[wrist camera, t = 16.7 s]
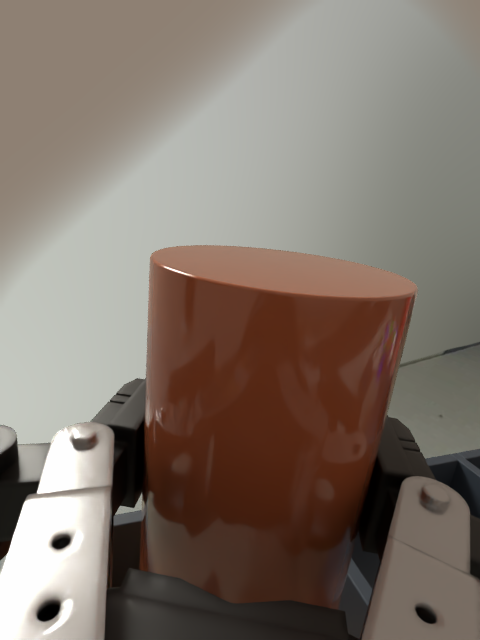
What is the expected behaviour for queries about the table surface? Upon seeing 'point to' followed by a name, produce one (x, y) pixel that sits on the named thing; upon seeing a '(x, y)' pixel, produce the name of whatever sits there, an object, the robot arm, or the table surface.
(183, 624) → the robot arm
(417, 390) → the table surface
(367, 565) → the gray storage bin
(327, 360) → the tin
